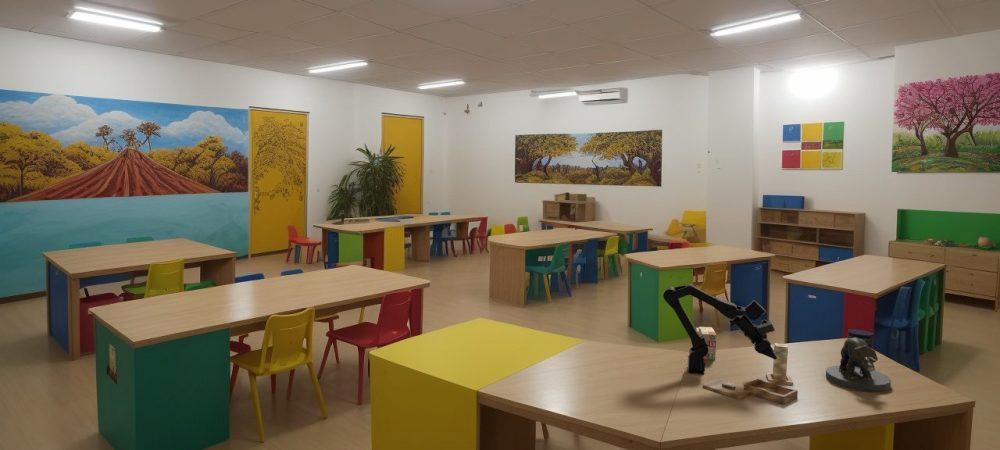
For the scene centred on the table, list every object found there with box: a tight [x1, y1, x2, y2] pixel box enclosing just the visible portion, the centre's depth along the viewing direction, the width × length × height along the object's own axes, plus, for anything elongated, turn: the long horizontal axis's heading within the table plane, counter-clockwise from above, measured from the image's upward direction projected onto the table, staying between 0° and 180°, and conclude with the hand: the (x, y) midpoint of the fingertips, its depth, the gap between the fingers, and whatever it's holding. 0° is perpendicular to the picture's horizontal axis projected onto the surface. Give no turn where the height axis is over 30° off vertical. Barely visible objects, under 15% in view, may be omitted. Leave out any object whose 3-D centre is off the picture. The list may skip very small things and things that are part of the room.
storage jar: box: [847, 328, 874, 367], centre depth 268 cm, size 10×10×15 cm
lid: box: [702, 378, 752, 400], centre depth 236 cm, size 16×11×2 cm
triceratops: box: [825, 337, 892, 393], centre depth 246 cm, size 23×35×18 cm, turn 165°
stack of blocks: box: [695, 326, 717, 361], centre depth 283 cm, size 21×6×12 cm, turn 170°
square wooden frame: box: [765, 371, 794, 386], centre depth 248 cm, size 9×9×1 cm
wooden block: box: [772, 342, 789, 380], centre depth 247 cm, size 5×5×15 cm
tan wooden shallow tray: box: [742, 378, 799, 406], centre depth 232 cm, size 16×11×3 cm
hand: (774, 355), depth 247 cm, fingers open, 9 cm apart
